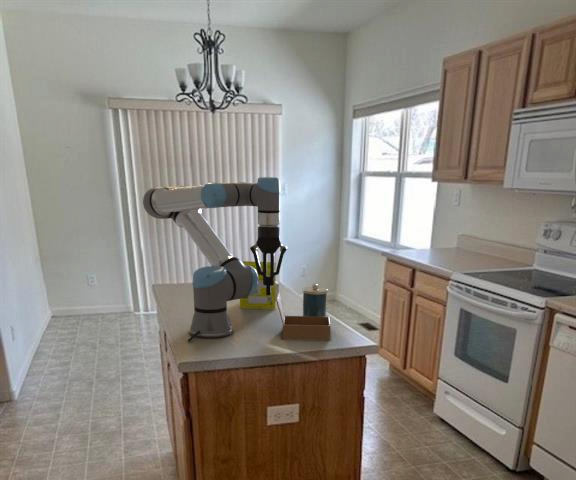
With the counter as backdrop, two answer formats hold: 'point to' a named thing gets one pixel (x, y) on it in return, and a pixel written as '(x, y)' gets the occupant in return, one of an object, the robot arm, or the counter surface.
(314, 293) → the cookie jar
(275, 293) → the lumpy-topped squat cylinder
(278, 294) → the flap
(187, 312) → the counter surface
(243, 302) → the food package
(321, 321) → the carton
